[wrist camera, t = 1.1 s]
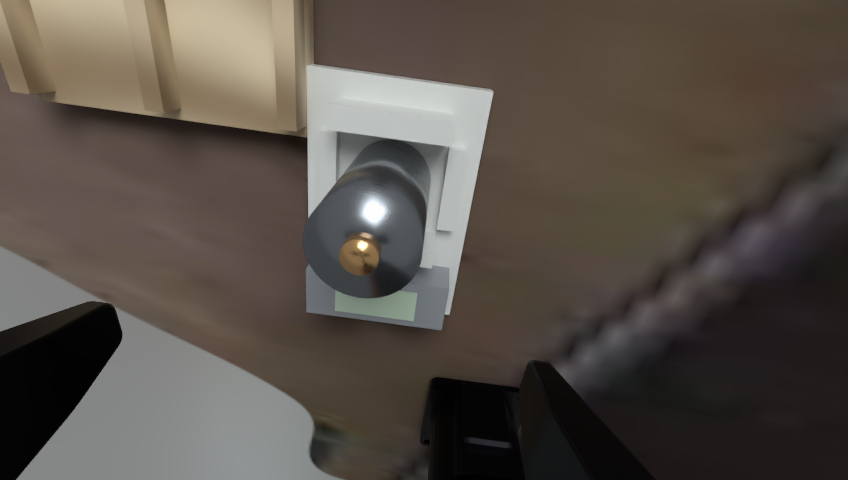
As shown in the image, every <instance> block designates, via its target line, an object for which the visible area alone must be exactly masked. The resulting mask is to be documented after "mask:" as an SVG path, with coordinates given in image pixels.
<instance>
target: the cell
mask: <svg viewBox="0 0 848 480" xmlns="http://www.w3.org/2000/svg"><path fill="white" fill-rule="evenodd" d="M430 184H431V175H430V170H429V167H428V165H427V163H426V161H425V159H424V158H423V156H422V155H421V154H420V153H419V152H418V151H417V150H416V149H415V148H414V147H412V146H411V145H409V144H407V143H405V142H402V141H398V140H390V139H388V140H380V141H376V142H374V143H372V144H370V145H368V146H367V147H365V148H364V149H363V150H362V151H361V152H360V153H359V154H358V156H357V157H356V158H355V159H354V161H353V162H352V163H351V164H350V166H349V167H348V168H347V170H346V171H345V172H344V173H343V175H342V176H341V177H340V178H339V180H338V181H337V182H336V183H335V185H334V186H333V187H332V188H331V190H330V191H329V192H328V193H327V195H326V196H325V197H324V198H323V200H322V201H321V202H320V204H319V205H318V206H317V207H316V209H315V210H314V211H313V212H312V214H311V215H310V217H309V218H308V220H307V222H306V225H305V228H304V233H303V248H304V252H305V256H306V258H307V261H308V263H309V265H310V266H311V268H312V270H313V271H314V272H315V274H316V275H317V276H318V277H319V278H320V279H321V280H322V281H323V282H324V283H326V284H327V285H328V286H330V287H331V288H333V289H335V290H337V291H338V292H341V293H343V294H346V295H349V296H352V297H357V298H380V297H384V296H388V295H391V294H393V293H395V292H397V291H399V290H401V289H402V288H404V287H405V286H406V285H407V284H408V283H409V282H410V281H411V280H412V279H413V278H414V276H415V275H416V273H417V271H418V269H419V267H420V264H421V260H422V253H423V245H424V236H425V227H426V219H427V210H428V202H429V193H430Z"/></svg>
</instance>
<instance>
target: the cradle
mask: <svg viewBox="0 0 848 480" xmlns="http://www.w3.org/2000/svg"><path fill="white" fill-rule="evenodd" d="M492 97H493V91H492V90H491V89H485V88H478V87H471V86H464V85H457V84H450V83H443V82H436V81H429V80H422V79H415V78H408V77H401V76H394V75H387V74H380V73H373V72H366V71H359V70H352V69H344V68H337V67H330V66H323V65H316V64H312V65H307V139H308V218H309V217H310V215H311V214H312V212H313V211H314V210H315V209H316V207H317V206H318V205H319V204H320V202H321V201H322V200H323V198H324V197H325V196H326V195H327V193H328V192H329V191H330V190H331V188H332V187H333V186H334V185H335V183H336V182H337V181H338V180H339V178H340V177H341V176H342V175H343V173H344V172H345V171H346V170H347V168H348V167H349V166H350V164H351V163H352V162H353V161H354V159H355V158H356V157H357V156H358V154H359V153H360V152H361V151H362V150H363V149H364V148H365V147H367V146H368V145H370V144H372V143H374V142H376V141H380V140H388V139H390V140H398V141H402V142H405V143H407V144H409V145H411V146H412V147H414V148H415V149H416V150H417V151H418V152H419V153H420V154H421V155H422V156H423V158H424V159H425V161H426V163H427V165H428V167H429V170H430V175H431V184H430V193H429V202H428V210H427V219H426V227H425V236H424V245H423V253H422V260H421V264H420V267H419V269H418V271H417V273H416V275H415V276H414V278H413V279H412V280H411V281H410V282H409V283H408V284H407V285H406V286H405V287H404V288H402V289H401V290H399V291H397V292H395V293H393V294H391V295H388V296H384V297H380V298H357V297H352V296H349V295H346V294H343V293H341V292H338V291H337V290H335V289H333V288H331V287H330V286H328V285H327V284H326V283H324V282H323V281H322V280H321V279H320V278H319V277H318V276H317V275H316V274H315V272H314V271H313V270H312V268H311V266H310V265H308V267H307V268H306V306H307V312H309V313H317V314H324V315H331V316H339V317H346V318H354V319H361V320H368V321H376V322H383V323H391V324H398V325H405V326H413V327H420V328H428V329H435V330H442V325H443V320H444V315H450V310H451V304H452V299H453V294H454V289H455V284H456V279H457V274H458V269H459V264H460V259H461V254H462V249H463V244H464V239H465V234H466V228H467V223H468V218H469V213H470V208H471V203H472V198H473V193H474V188H475V183H476V178H477V173H478V168H479V163H480V157H481V152H482V147H483V142H484V137H485V132H486V127H487V122H488V117H489V112H490V107H491V102H492Z"/></svg>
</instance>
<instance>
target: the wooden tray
mask: <svg viewBox="0 0 848 480" xmlns="http://www.w3.org/2000/svg"><path fill="white" fill-rule="evenodd" d="M0 62H1V64H2V67H3V70H4V73H5V76H6V79H7V82H8V85H9V88H10V91H11V92H17V93H24V94H36V93H40V97H41V100H43V101H50V102H57V103H64V104H72V105H79V106H86V107H93V108H100V109H107V110H114V111H121V112H129V113H136V114H143V115H150V116H157V117H164V118H171V119H179V120H186V121H193V122H200V123H207V124H214V125H221V126H229V127H236V128H243V129H250V130H257V131H264V132H271V133H279V134H286V135H293V136H300V137H307V65H312V64H314V0H0Z"/></svg>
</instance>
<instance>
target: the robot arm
mask: <svg viewBox="0 0 848 480" xmlns="http://www.w3.org/2000/svg"><path fill="white" fill-rule="evenodd" d="M121 340H122V330H121V326H120V323H119V320H118V316H117V313H116V310H115V308H114V306H113V305H111V304H109V303H103V302H95V301H91V302H86V303H83V304H80V305H77V306H74V307H71V308H68V309H65V310H63V311H59V312H56V313H53V314H51V315H48V316H45V317H42V318H39V319H36V320H33V321H30V322H27V323H24V324H21V325H18V326H15V327H13V328H10V329H7V330H4V331H1V332H0V480H16V479H17V478H18V477H19V475H20V474H21V473H22V472H23V471H24V469H25V468H26V467H27V466H28V465H29V463H30V462H31V461H32V459H34V457H35V456H36V455H37V454H38V453H39V451H40V450H41V449H42V448H43V447H44V445H45V444H46V443H47V441H49V439H50V438H51V437H52V436H53V435H54V433H55V432H56V431H57V430H58V429H59V427H60V426H61V425H62V424H63V423H64V421H65V420H66V419H67V418H68V416H69V415H70V414H71V413H72V411H73V410H74V409H75V407H76V406H77V405H78V403H79V402H80V401H81V399H82V398H83V396H84V395H85V393H86V392H87V391H88V389H89V388H90V386H91V385H92V383H93V382H94V381H95V379H96V377H97V376H98V375H99V373H100V372H101V371H102V369H103V368H104V366H105V365H106V363H107V362H108V360H109V359H110V358H111V356H112V355H113V353H114V352H115V350H116V349H117V348H118V346H119V344H120V342H121ZM437 385H440V386H437ZM520 424H521V431H522V444H523V457H524V468H525V474H526V480H656V479H655V478H654V477H653V476H652V475H651V474H650V473H649V472H648V470H647V469H646V468H645V467H644V466H643V465H642V464H641V463H640V462H639V461H638V459H637V458H636V457H635V456H634V455H633V454H632V453H631V452H630V451H629V450H628V448H627V447H626V446H625V445H624V444H623V443H622V442H621V441H620V440H619V439H618V437H617V436H616V435H615V434H614V433H613V432H612V431H611V430H610V429H609V428H608V426H607V425H606V424H605V423H604V422H603V421H602V420H601V419H600V418H599V417H598V416H597V414H596V413H595V412H594V411H593V410H592V409H591V408H590V407H589V406H588V405H587V403H586V402H585V401H584V400H583V399H582V398H581V397H580V396H579V395H578V394H577V392H576V391H575V390H574V389H573V388H572V387H571V386H570V385H569V384H568V383H567V381H566V380H565V379H564V378H563V377H562V376H561V375H560V374H559V373H558V372H557V370H556V369H555V368H554V367H553V366H552V365H551V364H550V363H548V362H544V361H537V360H531V361H529V362H528V364H527V367H526V370H525V373H524V376H523V379H522V382H521V385H520V388H515V387H507V386H500V385H492V384H485V383H477V382H470V381H462V380H455V379H447V378H440V377H436V378H434V379H432V380H431V384H430V389H429V394H428V399H427V405H426V410H425V415H424V421H423V426H422V431H421V438H420V443H421V444H422V445H424V446H428V447H430V448H429V471H428V480H525V474H524V469H523V463H522V457H521V452H520V446H519V441H518V435H517V432H518V429H519V427H520Z"/></svg>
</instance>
